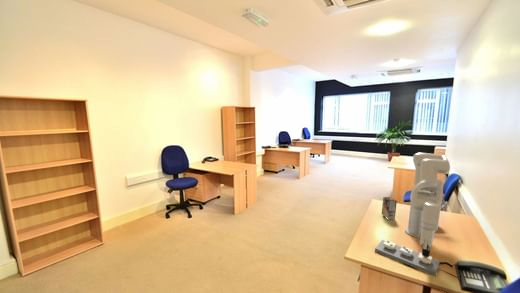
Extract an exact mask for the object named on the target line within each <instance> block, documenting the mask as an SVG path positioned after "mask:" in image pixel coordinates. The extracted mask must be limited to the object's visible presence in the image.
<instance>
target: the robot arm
mask: <svg viewBox="0 0 520 293" xmlns="http://www.w3.org/2000/svg"><path fill="white" fill-rule="evenodd" d="M412 159H413V160H412V161H413V165H414V167H415V173H414V186H413V187H412V189H411V193H410V194H409V195H410V197H409V198H410V209H409V218H408V226H407V227H406V228H405V229H404V230H405V233H406V234H407V235H409V236H412V237H414V238H417V239H418V238H419V239H420V240H419V245H420V246H422V249H421V253H422V255H423V256H425V257H429V256H430V255H431V254H430V253H431V246H432V244H433V243H434V238H435V232H437V231H438V230H439V223H440V214H441V211H442V201H443V193H444V192H443V191H444V182H443V180H442V179H441V178H438V174H444V175H447V174H449V173H450V171H451V164H450V161H449V159H448V158H447V156H446V155H445V154H440V153H431V152H430V153H427V152H417V153H414V154H413V156H412ZM418 190H424V191H418ZM425 190H426V191H425ZM428 191H432V192H433V193H429V192H428Z"/></svg>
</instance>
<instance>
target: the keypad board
mask: <svg viewBox="0 0 520 293" xmlns="http://www.w3.org/2000/svg"><path fill="white" fill-rule="evenodd" d="M385 241H386V240H385V239H382V240H381V241H380V242H379V243H378V244H377V245H376V247H375V248H374V252H375V253H378V254H380V255H383V256H385V257H388V258H391V259H393V260H395V261H397V262H399V263H402V264H404V265H407V266H409V265H410V267H412V268H414V269H416V270H418V271H422V272H424V273H427V274H429V275H431V276H433V277H436V276H437V272H438V270H439V266H440V261H441V260H438V259H434V258H433V257H432V260H431V263H430V264H428V263H427V264H425V263H423V262H422V261H421V260H418V256H419V254H420V252H416V251H414V250H413V253H412V255H411V257H410V256H408V257H407V256H405V255H403V253H400V249H401V247H402V246H401V245H397V244H396V247H395V248H394V249H393V250H392V249H391V250H389V249H387V247H385V246H383V243H384V242H385Z"/></svg>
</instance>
